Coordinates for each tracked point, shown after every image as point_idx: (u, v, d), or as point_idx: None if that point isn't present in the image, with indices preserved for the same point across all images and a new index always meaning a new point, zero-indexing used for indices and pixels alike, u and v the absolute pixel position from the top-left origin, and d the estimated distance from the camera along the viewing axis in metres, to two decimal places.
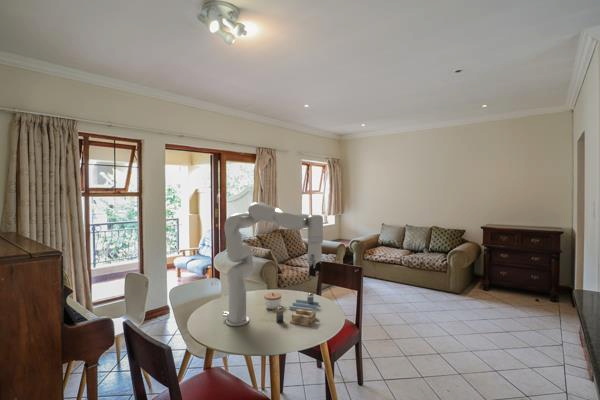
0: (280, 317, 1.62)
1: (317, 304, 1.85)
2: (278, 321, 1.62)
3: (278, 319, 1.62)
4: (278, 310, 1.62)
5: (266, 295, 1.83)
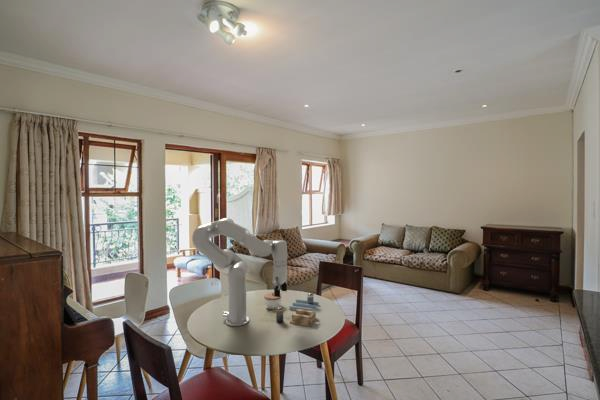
0: (280, 317, 1.62)
1: (317, 304, 1.85)
2: (278, 321, 1.62)
3: (278, 319, 1.62)
4: (278, 310, 1.62)
5: (266, 295, 1.83)
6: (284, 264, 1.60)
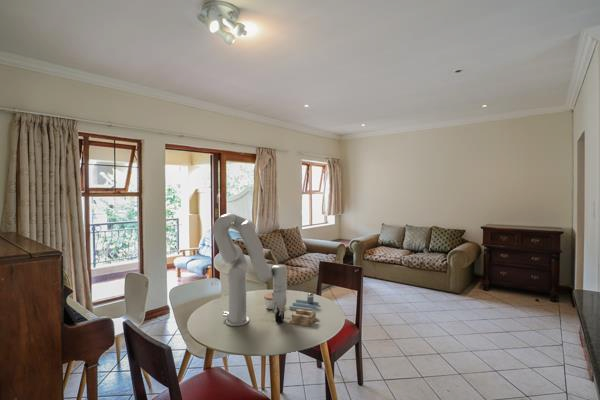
0: None
1: (317, 304, 1.85)
2: None
3: None
4: None
5: (266, 295, 1.83)
6: (284, 289, 1.61)
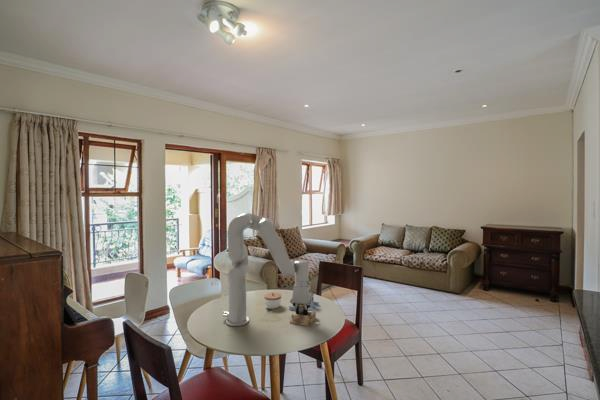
0: (298, 311, 1.64)
1: (317, 304, 1.85)
2: None
3: None
4: None
5: (266, 295, 1.83)
6: (296, 284, 1.62)
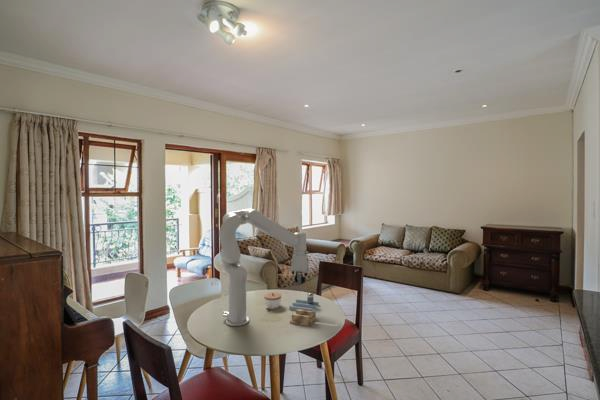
0: None
1: (317, 304, 1.85)
2: None
3: None
4: None
5: (266, 295, 1.83)
6: (295, 253, 1.77)
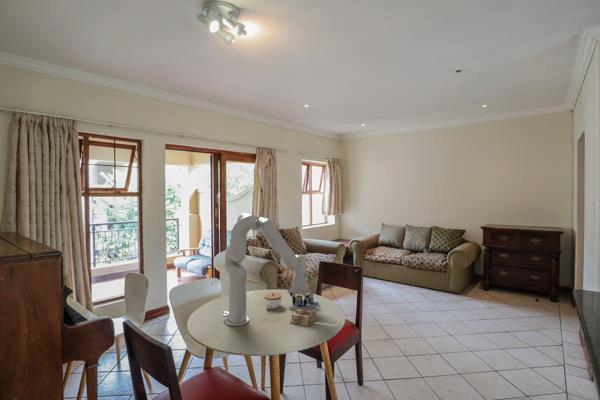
0: (296, 303, 1.79)
1: (317, 304, 1.85)
2: None
3: None
4: None
5: (266, 295, 1.83)
6: (295, 276, 1.77)
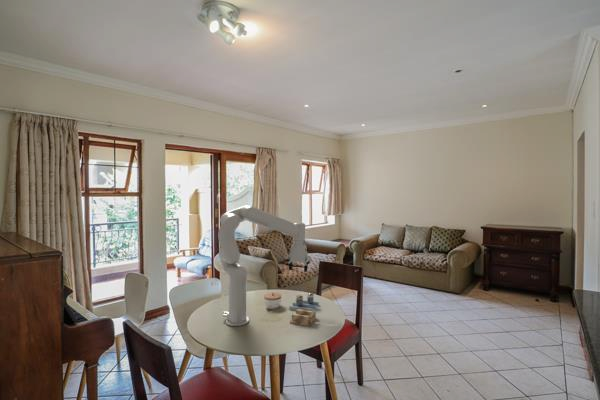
0: (296, 303, 1.79)
1: (317, 304, 1.85)
2: None
3: None
4: None
5: (266, 295, 1.83)
6: (294, 243, 1.79)
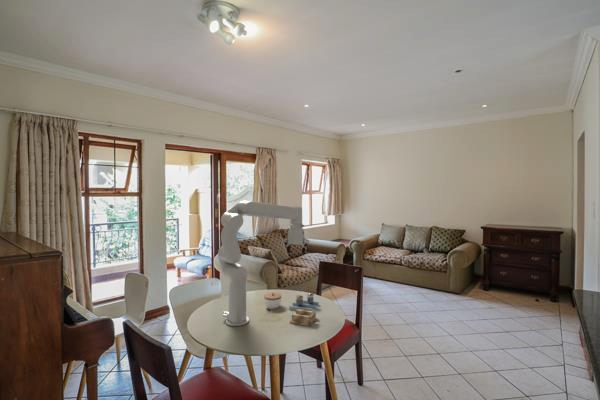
0: (296, 303, 1.79)
1: (317, 304, 1.85)
2: None
3: None
4: None
5: (266, 295, 1.83)
6: (291, 227, 1.85)
